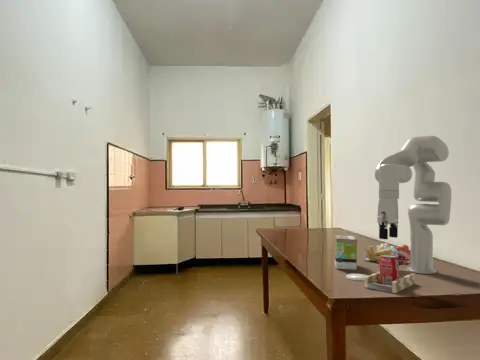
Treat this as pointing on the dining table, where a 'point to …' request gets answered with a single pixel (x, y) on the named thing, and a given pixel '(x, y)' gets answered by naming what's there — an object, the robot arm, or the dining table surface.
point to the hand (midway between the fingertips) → (388, 238)
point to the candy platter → (386, 249)
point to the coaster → (356, 277)
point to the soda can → (388, 269)
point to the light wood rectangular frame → (403, 282)
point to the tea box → (345, 252)
